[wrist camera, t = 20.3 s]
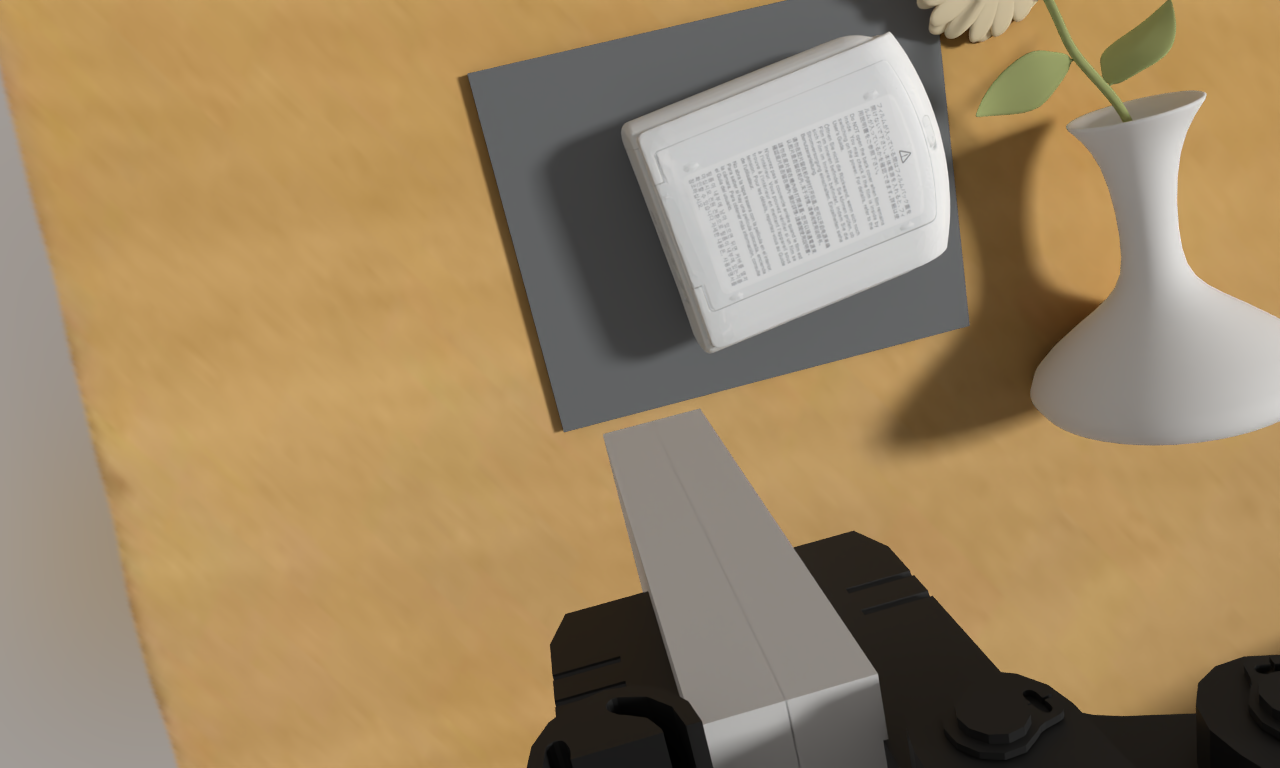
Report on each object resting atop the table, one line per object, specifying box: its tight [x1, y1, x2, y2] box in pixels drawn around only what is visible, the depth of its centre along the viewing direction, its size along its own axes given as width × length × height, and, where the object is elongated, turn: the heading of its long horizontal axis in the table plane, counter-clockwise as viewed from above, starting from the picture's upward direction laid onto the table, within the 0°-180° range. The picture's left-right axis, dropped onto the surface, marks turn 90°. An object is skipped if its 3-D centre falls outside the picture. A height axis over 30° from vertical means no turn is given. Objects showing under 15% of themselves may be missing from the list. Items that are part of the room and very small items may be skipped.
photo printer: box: [621, 32, 950, 353], centre depth 36 cm, size 10×4×12 cm
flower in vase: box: [917, 0, 1280, 445], centre depth 36 cm, size 13×11×25 cm
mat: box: [468, 0, 970, 432], centre depth 39 cm, size 20×16×1 cm
